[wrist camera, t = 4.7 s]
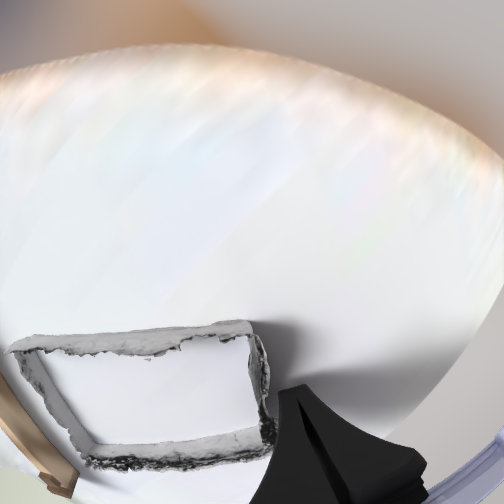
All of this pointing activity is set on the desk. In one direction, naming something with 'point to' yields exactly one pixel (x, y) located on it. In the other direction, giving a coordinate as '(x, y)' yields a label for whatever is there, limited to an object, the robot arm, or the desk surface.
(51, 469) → the ledge
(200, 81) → the desk surface
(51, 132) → the desk surface
